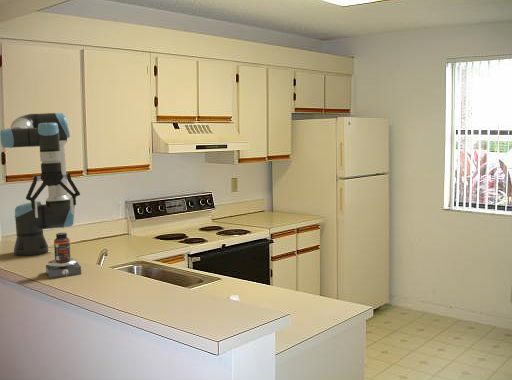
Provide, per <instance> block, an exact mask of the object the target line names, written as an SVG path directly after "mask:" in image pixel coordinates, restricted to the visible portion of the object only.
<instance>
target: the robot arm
mask: <svg viewBox="0 0 512 380" xmlns="http://www.w3.org/2000/svg"><path fill="white" fill-rule="evenodd" d="M67 119H68V118H67V115H66V114H65V113H63V112H62V113H60V112H51V113H50V112H47V113H44V112H43V113H29V114H24V115H22V116H19V117H17V118H16V119H14V120H13V121H12V122H11V124H10V128H1V130H0V145H1V146H2V148H4V149H5V148H7V149H8V148H9V149H13V148H26V147H27V148H28V147H29V148H30V147H31V148H33V147H37V148H38V147H39V158H40V160H39V161H40V162H41V164H40V170H41V172H40V173H41V175H33V177H32V182H31V183H30V187H29V190H28V192H27V194H26V196H25V199H26V200H27V201H30V202H26V203H23V204H19V205H17V206H16V207H15V208H14V219H15V232H16V240H15V243H14V247H13V254H14V256H20V257H22V256H24V257H25V256H35V255H41V254H44V253H48V251H49V245H48V242H47V241H46V238H45V236H44V230H50V229H64V228H71V227H72V226H73V225H74V222H75V207H76V205H77V200H76V199H77V197H78V196H81V193H80V191H79V189H78V188H77V186H76V185H75V183H74V181H73V180H72V178H71V173H70V172H67V167H66V166H67V165H66V154H65V151H66V150H65V145H66V144H67V143H68V139H69V138H70V137H71V134H70V130H69V124H68V120H67ZM39 180H41V181H42V183H41V184H40V186H39V187H38V188H37V189H36V191H35V193H34V194H33V192H34V190H35V188H36V185H37V184H38V183H37V182H39ZM68 184H69V185H70V187H71V188H72V190H73V191H74V192H73V191H72V190H71V189H70V188H69V187H68ZM46 187H47V190H48V191H47V193H48V197H47V198H46V200H45V204H42V202H41V201H37V200H36V199H37V198H38V197H39V195H40V194H41V193H42V191H43V190H44V189H45V188H46ZM69 195H70V196H71V197H70V196H69Z"/></svg>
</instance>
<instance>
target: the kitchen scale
mask: <svg viewBox="0 0 512 380" xmlns="http://www.w3.org/2000/svg"><path fill="white" fill-rule="evenodd" d="M45 272H46V274H47V277H48V279H55V278H62V277H69V275H71V276H78V275H82V266H81V265H80V264H79V262H78V259H77V258H74V257H71V260H70V261H68V262H64V263H58V262H56V261H55V259H54V260H50V261H48V262H47V264H45Z"/></svg>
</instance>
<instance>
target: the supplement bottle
mask: <svg viewBox="0 0 512 380" xmlns="http://www.w3.org/2000/svg"><path fill="white" fill-rule="evenodd" d="M55 235H56V237H55V238H54V241H53V245H54V246H53V247H54V260H55V261H56V262H58V263H64V262H68V261H70V260H71V258H72V257H71V241H70V238H69V237H68V234H67V232H57V233H56V234H55Z"/></svg>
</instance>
